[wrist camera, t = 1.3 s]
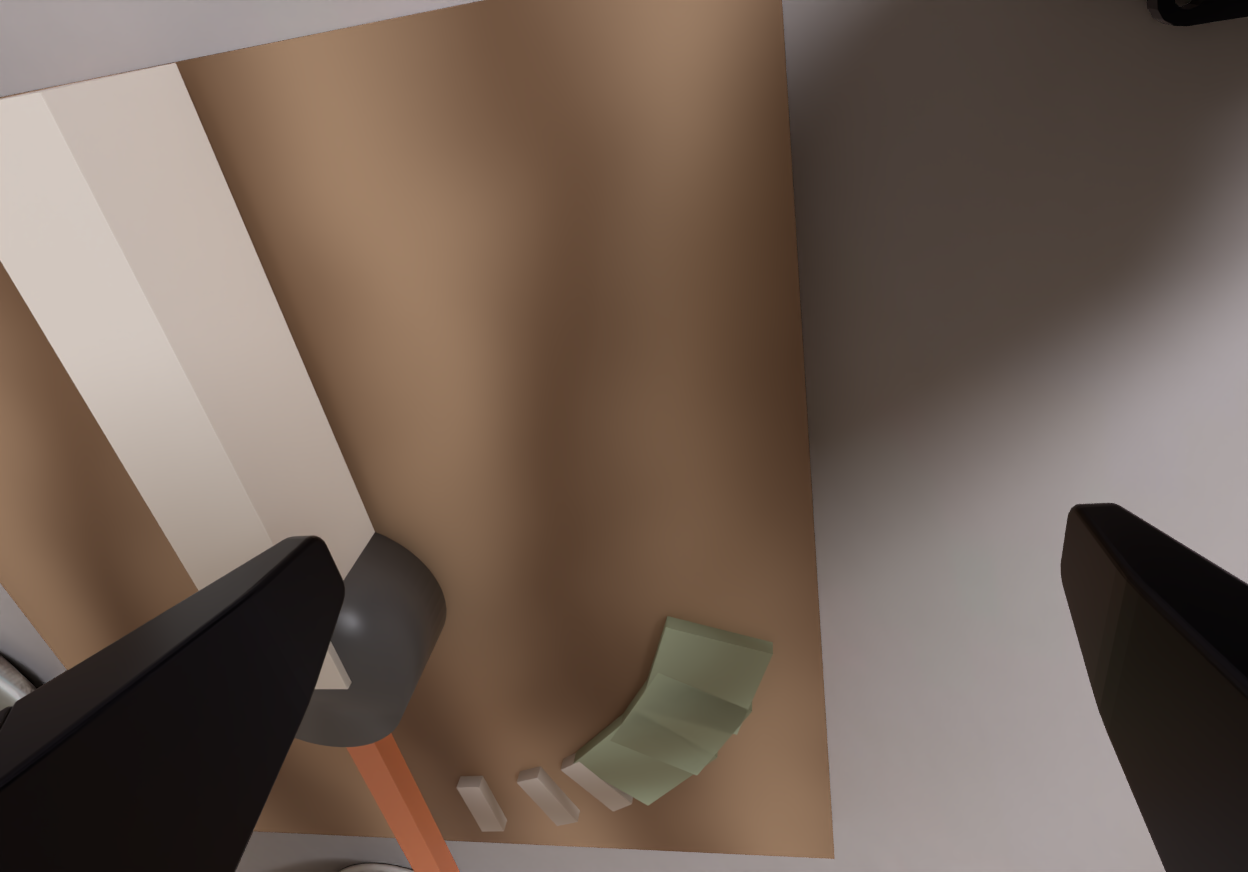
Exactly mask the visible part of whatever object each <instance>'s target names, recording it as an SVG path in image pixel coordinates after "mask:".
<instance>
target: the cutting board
mask: <svg viewBox="0 0 1248 872" xmlns="http://www.w3.org/2000/svg"><path fill="white" fill-rule="evenodd" d="M173 63H176V65H177V67H178V70H179V72H180V74H181V77H182V79H183V82H184V84H185V86H186V89H187V91H188V93H189V96H190V98H191V100H192V103H193V105H194V107H195V110H196V112H197V114H198V117H199V119H200V121H201V124H202V126H203V129H204V131H205V133H206V136H207V138H208V140H209V143H210V145H211V147H212V150H213V152H214V154H215V157H216V159H217V161H218V164H219V166H220V169H221V171H222V173H223V176H224V178H225V180H226V183H227V185H228V187H229V190H230V192H231V194H232V197H233V199H234V201H235V204H236V206H237V209H238V211H239V213H240V216H241V218H242V220H243V223H244V225H245V227H246V230H247V232H248V234H249V237H250V239H251V241H252V244H253V246H254V248H255V251H256V253H257V256H258V258H259V260H260V263H261V265H262V267H263V270H264V272H265V274H266V277H267V279H268V281H269V284H270V286H271V288H272V291H273V293H274V296H275V298H276V300H277V303H278V305H279V307H280V310H281V312H282V314H283V317H284V319H285V321H286V324H287V326H288V328H289V331H290V333H291V336H292V338H293V340H294V343H295V345H296V347H297V350H298V352H299V354H300V357H301V359H302V361H303V364H304V366H305V368H306V371H307V373H308V375H309V378H310V380H311V383H312V385H313V387H314V390H315V392H316V394H317V397H318V399H319V401H320V404H321V406H322V408H323V411H324V413H325V415H326V418H327V420H328V423H329V425H330V427H331V430H332V432H333V434H334V437H335V439H336V441H337V444H338V446H339V448H340V451H341V453H342V455H343V458H344V460H345V463H346V465H347V467H348V470H349V472H350V474H351V477H352V479H353V481H354V484H355V486H356V488H357V491H358V493H359V495H360V498H361V500H362V502H363V505H364V507H365V510H366V512H367V514H368V517H369V519H370V521H371V524H372V526H373V528H374V531H375V532H376V533H379V534H381V535H383V536H386V537H388V538H390V539H391V540H393V541H395V542H397V543H399V544H400V545H402V546H403V547H405V548H406V549H408V550H409V551H410V552H411V553H413V554H414V555H415V556H416V557H418V558H419V559H420V560H421V561H422V562H423V563H424V564H425V565H426V566H427V568H428V569H429V570H430V571H431V573H432V574H433V575H434V577H435V578H436V580H437V582H438V583H439V585H440V587H441V589H442V592H443V595H444V598H445V602H446V609H447V610H446V620H445V625H444V627H443V629H442V632H441V634H440V636H439V638H438V640H437V642H436V645H435V647H434V649H433V651H432V653H431V655H430V658H429V660H428V662H427V664H426V666H425V668H424V670H423V673H422V675H421V677H420V679H419V681H418V683H417V686H416V688H415V690H414V692H413V694H412V696H411V699H410V701H409V703H408V705H407V707H406V709H405V712H404V714H403V716H402V718H401V720H400V722H399V724H398V726H397V727H396V728H395V730H394V731H393V732H391V734H392V736H393V738H394V740H395V742H396V744H397V746H398V748H399V750H400V752H401V754H402V756H403V758H404V760H405V762H406V764H407V766H408V768H409V770H410V772H411V774H412V776H413V778H414V780H415V782H416V784H417V786H418V788H419V790H420V792H421V794H422V796H423V798H424V800H425V802H426V804H427V806H428V808H429V810H430V813H431V815H432V817H433V819H434V821H435V823H436V825H437V827H438V829H439V831H440V833H441V835H442V837H443V839H444V840H449V841H470V842H491V843H512V844H534V845H555V846H576V847H597V848H618V849H640V850H661V851H682V852H703V853H724V854H745V855H767V856H788V857H809V858H830V859H834V844H833V828H832V811H831V795H830V778H829V762H828V746H827V729H826V713H825V697H824V680H823V664H822V647H821V631H820V615H819V598H818V582H817V566H816V549H815V533H814V517H813V500H812V484H811V467H810V451H809V435H808V418H807V402H806V386H805V369H804V353H803V336H802V320H801V304H800V287H799V271H798V255H797V238H796V222H795V205H794V189H793V173H792V156H791V140H790V124H789V107H788V91H787V75H786V58H785V42H784V25H783V9H782V0H483V1H478V2H473V3H468V4H463V5H458V6H453V7H448V8H443V9H438V10H433V11H428V12H423V13H418V14H413V15H408V16H403V17H398V18H393V19H388V20H383V21H378V22H373V23H368V24H363V25H358V26H353V27H348V28H343V29H338V30H333V31H328V32H323V33H318V34H313V35H308V36H303V37H298V38H293V39H288V40H283V41H278V42H273V43H268V44H263V45H258V46H253V47H248V48H243V49H238V50H233V51H228V52H223V53H218V54H213V55H208V56H203V57H198V58H193V59H188V60H183V61H178V62H173ZM168 64H172V63H168ZM163 65H167V64H163ZM158 66H162V65H158ZM153 67H157V66H153ZM148 68H152V67H148ZM143 69H147V68H143ZM139 70H142V69H139ZM134 71H137V70H134ZM129 72H132V71H129ZM124 73H127V72H124ZM119 74H122V73H119ZM114 75H117V74H114ZM109 76H112V75H109ZM104 77H107V76H104ZM99 78H102V77H99ZM94 79H97V78H94ZM89 80H92V79H89ZM84 81H87V80H84ZM79 82H82V81H79ZM74 83H77V82H74ZM69 84H72V83H69ZM64 85H67V84H64ZM59 86H62V85H59ZM54 87H58V86H54ZM49 88H53V87H49ZM44 89H48V88H44ZM44 89H39V90H44ZM39 90H34V91H39ZM34 91H29V92H24V93H19V94H14V95H9V96H4V97H0V99H2V98H6V97H11V96H16V95H20V94H25V93H30V92H34ZM0 583H1V585H2V586H3V587H4V588H5V590H6V591H7V592H8V594H9V595H10V596H11V598H12V599H13V600H14V601H15V603H16V604H17V605H18V607H19V608H20V609H21V611H22V612H23V613H24V615H25V616H26V617H27V618H28V620H29V621H30V622H31V624H32V625H33V626H34V628H35V629H36V630H37V631H38V633H39V634H40V635H41V637H42V638H43V639H44V641H45V642H46V643H47V644H48V646H49V647H50V648H51V650H52V651H53V652H54V654H55V655H56V656H57V657H58V659H59V660H60V661H61V663H62V664H63V665H64V667H65V668H66V669H67V670H69V669H70V668H72V667H74V666H75V665H77V664H79V663H80V662H82V661H84V660H85V659H87V658H89V657H90V656H92V655H94V654H95V653H97V652H99V651H100V650H102V649H103V648H105V647H107V646H108V645H110V644H112V643H113V642H115V641H117V640H118V639H120V638H122V637H123V636H125V635H127V634H128V633H130V632H132V631H133V630H135V629H137V628H138V627H140V626H142V625H143V624H145V623H146V622H148V621H150V620H151V619H153V618H155V617H156V616H158V615H160V614H161V613H163V612H165V611H166V610H168V609H170V608H171V607H173V606H175V605H176V604H178V603H180V602H181V601H183V600H185V599H186V598H188V597H189V596H191V595H193V594H194V593H196V592H198V589H197V587H196V586H195V584H194V582H193V581H192V579H191V577H190V576H189V574H188V572H187V571H186V569H185V567H184V566H183V564H182V562H181V561H180V559H179V557H178V556H177V554H176V552H175V551H174V549H173V547H172V546H171V544H170V542H169V541H168V539H167V537H166V536H165V534H164V532H163V531H162V529H161V527H160V526H159V524H158V522H157V521H156V519H155V517H154V516H153V514H152V512H151V511H150V509H149V507H148V506H147V504H146V502H145V501H144V499H143V497H142V496H141V494H140V492H139V491H138V489H137V487H136V486H135V484H134V482H133V481H132V479H131V477H130V476H129V474H128V472H127V471H126V469H125V467H124V466H123V464H122V462H121V461H120V459H119V457H118V456H117V454H116V452H115V451H114V449H113V447H112V446H111V444H110V442H109V441H108V439H107V437H106V436H105V434H104V432H103V431H102V429H101V427H100V426H99V424H98V422H97V421H96V419H95V417H94V416H93V414H92V412H91V411H90V409H89V407H88V406H87V404H86V402H85V401H84V399H83V397H82V396H81V394H80V392H79V391H78V389H77V387H76V386H75V384H74V382H73V381H72V379H71V377H70V376H69V374H68V372H67V371H66V369H65V367H64V366H63V364H62V362H61V361H60V359H59V357H58V356H57V354H56V352H55V351H54V349H53V347H52V346H51V344H50V342H49V341H48V339H47V337H46V336H45V334H44V332H43V331H42V329H41V327H40V326H39V324H38V322H37V321H36V319H35V317H34V316H33V314H32V312H31V311H30V309H29V308H28V306H27V304H26V303H25V301H24V299H23V298H22V296H21V294H20V293H19V291H18V289H17V288H16V286H15V284H14V283H13V281H12V279H11V278H10V276H9V274H8V273H7V271H6V269H5V268H4V266H3V264H2V263H1V261H0ZM253 831H258V832H279V833H301V834H322V835H343V836H364V837H385V838H395V836H394V834H393V832H392V830H391V828H390V827H389V825H388V823H387V821H386V819H385V817H384V816H383V814H382V812H381V810H380V808H379V807H378V805H377V803H376V801H375V799H374V797H373V796H372V794H371V792H370V790H369V788H368V786H367V785H366V783H365V781H364V779H363V777H362V775H361V774H360V772H359V770H358V768H357V766H356V764H355V763H354V761H353V759H352V757H351V755H350V753H349V752H348V750H347V748H346V747H330V746H324V745H318V744H313V743H309V742H305V741H302V740H299V739H296V738H294V740H293V743H292V745H291V747H290V749H289V752H288V754H287V756H286V758H285V761H284V763H283V765H282V767H281V770H280V772H279V774H278V776H277V779H276V781H275V783H274V785H273V788H272V790H271V792H270V794H269V797H268V799H267V801H266V803H265V806H264V808H263V810H262V812H261V815H260V817H259V819H258V821H257V824H256V826H255V828H254V830H253Z"/></svg>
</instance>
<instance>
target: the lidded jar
mask: <svg viewBox="0 0 1248 872" xmlns="http://www.w3.org/2000/svg"><path fill="white" fill-rule="evenodd" d="M339 872H414V871H413V870H410V869H407V868H403V867H399V866H395V865H388V864H379V863H363V864H357V865H352V866H349V867H346V868H344V869H342V870H341V871H339Z"/></svg>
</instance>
